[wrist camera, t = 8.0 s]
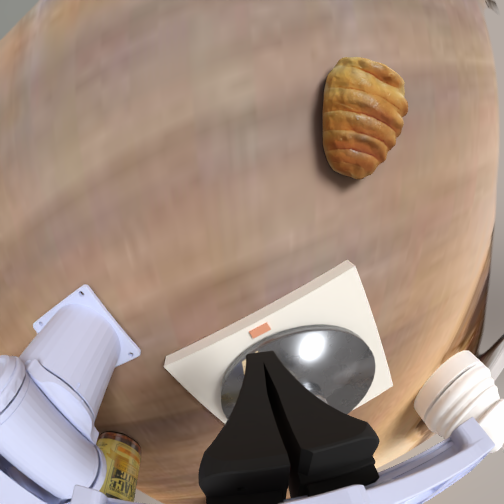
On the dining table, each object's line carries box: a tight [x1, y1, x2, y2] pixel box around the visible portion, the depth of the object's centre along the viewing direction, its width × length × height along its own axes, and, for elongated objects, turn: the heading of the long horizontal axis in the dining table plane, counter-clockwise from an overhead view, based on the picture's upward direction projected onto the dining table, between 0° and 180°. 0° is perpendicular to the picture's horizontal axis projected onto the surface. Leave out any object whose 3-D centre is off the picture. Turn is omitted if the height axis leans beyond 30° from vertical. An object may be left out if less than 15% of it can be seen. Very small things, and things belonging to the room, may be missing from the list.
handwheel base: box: [164, 260, 393, 424], centre depth 25 cm, size 18×18×2 cm
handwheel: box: [221, 324, 375, 419], centre depth 22 cm, size 15×15×4 cm
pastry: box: [322, 57, 408, 179], centre depth 17 cm, size 9×7×4 cm
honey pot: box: [414, 351, 504, 454], centre depth 23 cm, size 13×13×18 cm
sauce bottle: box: [96, 432, 141, 502], centre depth 17 cm, size 7×6×20 cm
